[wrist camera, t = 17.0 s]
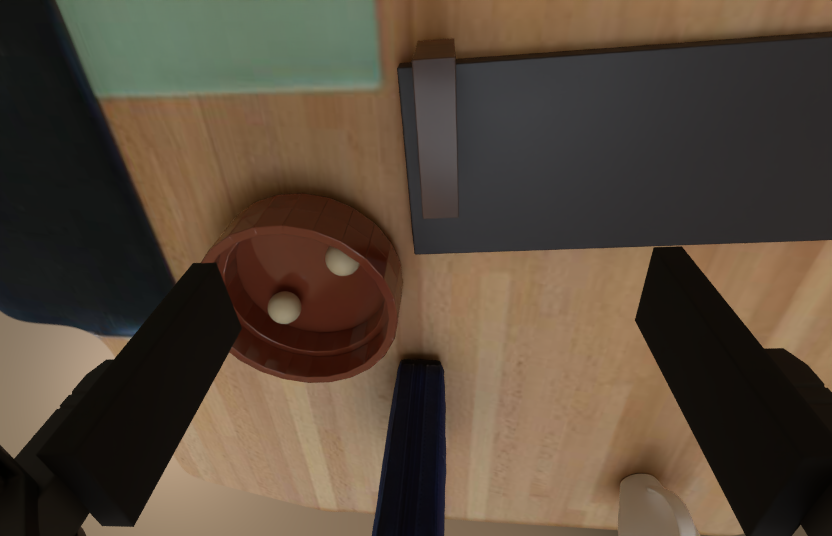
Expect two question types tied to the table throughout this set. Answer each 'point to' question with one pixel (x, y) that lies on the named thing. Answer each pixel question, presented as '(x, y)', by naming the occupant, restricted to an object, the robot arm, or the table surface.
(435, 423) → the blue rectangular block
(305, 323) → the bowl
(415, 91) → the dark brown brick
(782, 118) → the board
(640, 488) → the mug
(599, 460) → the table surface
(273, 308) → the bead
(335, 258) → the bead
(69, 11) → the table surface
